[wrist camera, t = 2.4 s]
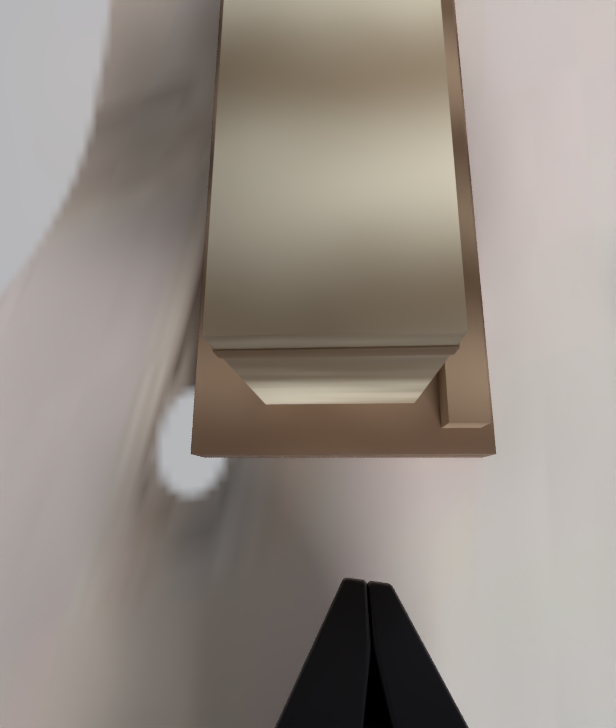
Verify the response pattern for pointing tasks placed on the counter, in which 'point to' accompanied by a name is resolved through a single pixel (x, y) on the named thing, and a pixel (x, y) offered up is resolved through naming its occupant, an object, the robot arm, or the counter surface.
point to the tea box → (334, 202)
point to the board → (375, 420)
